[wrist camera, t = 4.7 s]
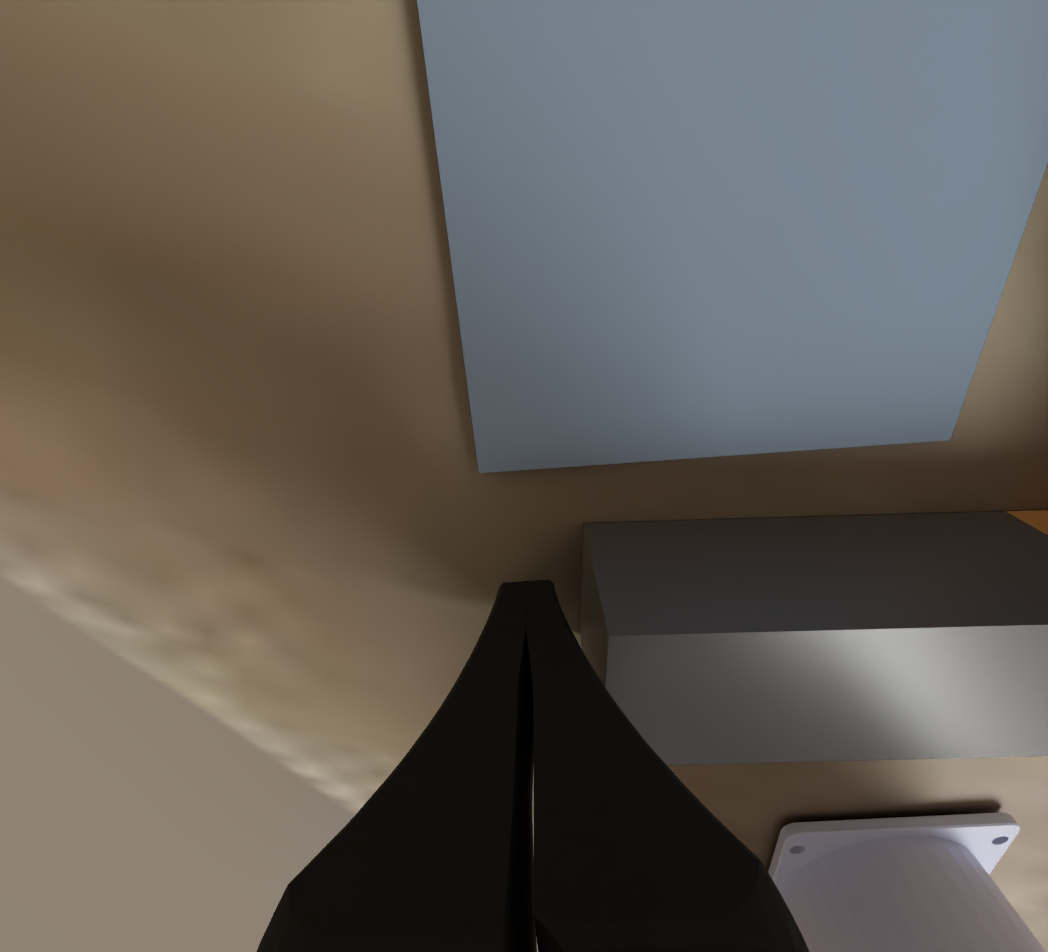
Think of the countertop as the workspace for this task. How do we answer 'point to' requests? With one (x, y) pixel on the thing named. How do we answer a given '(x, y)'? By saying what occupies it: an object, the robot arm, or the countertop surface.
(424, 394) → the countertop surface
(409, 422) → the countertop surface
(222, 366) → the countertop surface
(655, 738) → the plug
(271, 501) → the countertop surface
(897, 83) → the mat
